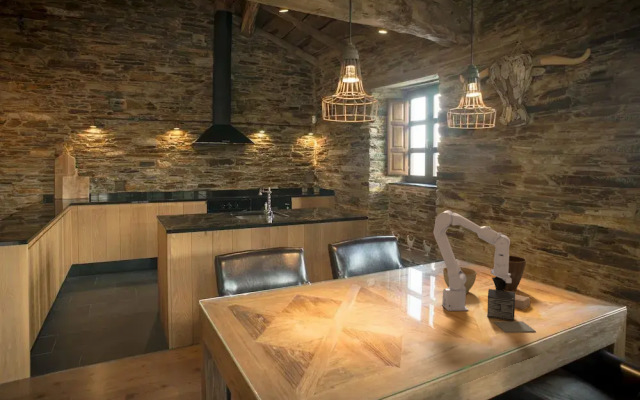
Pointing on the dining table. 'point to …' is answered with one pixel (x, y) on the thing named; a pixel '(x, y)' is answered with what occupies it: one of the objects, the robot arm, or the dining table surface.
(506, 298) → the small box
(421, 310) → the dining table surface
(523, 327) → the mat
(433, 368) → the dining table surface
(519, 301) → the brick
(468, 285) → the planter bowl
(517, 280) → the plant pot
